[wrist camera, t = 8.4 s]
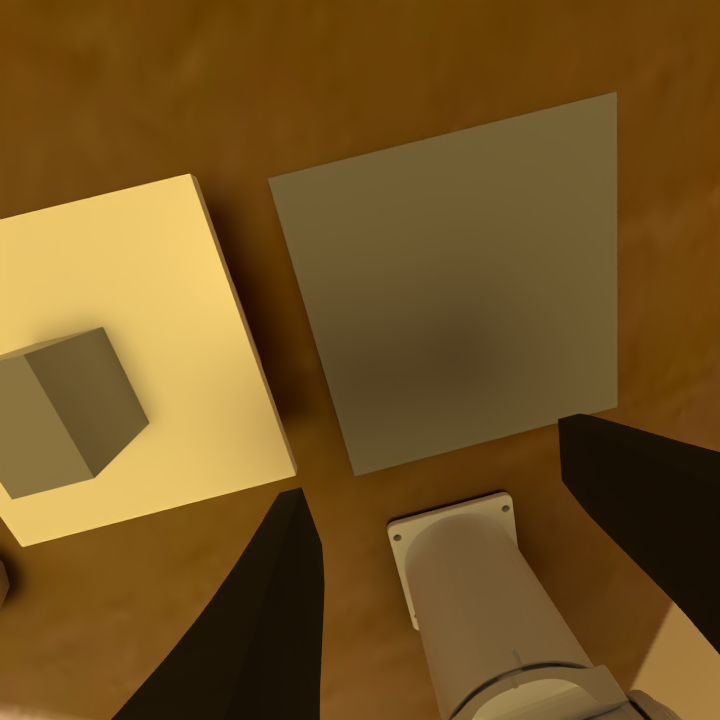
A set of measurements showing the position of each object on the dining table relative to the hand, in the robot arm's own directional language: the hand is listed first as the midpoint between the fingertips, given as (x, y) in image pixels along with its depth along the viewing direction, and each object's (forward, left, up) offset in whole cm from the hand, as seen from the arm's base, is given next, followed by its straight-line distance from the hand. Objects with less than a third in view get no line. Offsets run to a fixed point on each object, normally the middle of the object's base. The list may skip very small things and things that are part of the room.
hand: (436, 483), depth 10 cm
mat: (+2, -5, -10) cm, 11 cm away
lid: (+4, +11, -6) cm, 13 cm away
